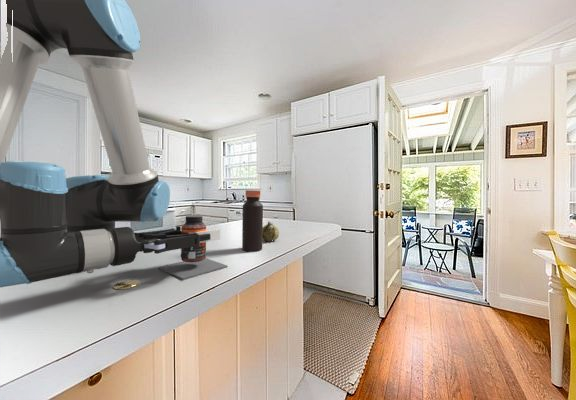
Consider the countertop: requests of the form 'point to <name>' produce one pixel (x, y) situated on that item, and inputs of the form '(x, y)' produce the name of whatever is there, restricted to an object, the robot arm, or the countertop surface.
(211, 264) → the rubber mat
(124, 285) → the brass marker
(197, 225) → the supplement bottle
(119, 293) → the countertop surface
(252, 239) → the vinegar
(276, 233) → the onion
